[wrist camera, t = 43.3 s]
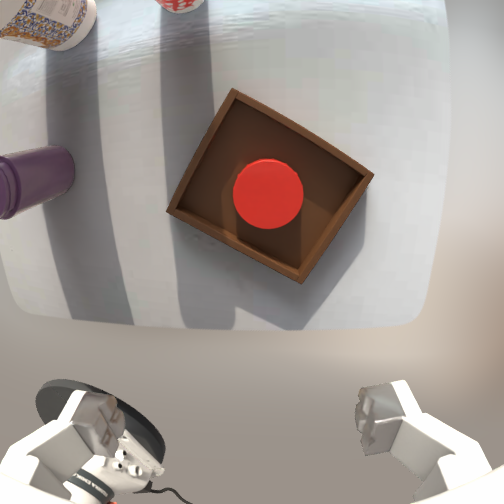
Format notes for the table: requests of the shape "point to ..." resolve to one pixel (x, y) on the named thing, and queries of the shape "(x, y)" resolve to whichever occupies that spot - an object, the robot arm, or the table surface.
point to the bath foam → (47, 22)
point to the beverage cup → (180, 5)
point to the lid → (268, 193)
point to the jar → (33, 178)
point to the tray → (280, 148)
